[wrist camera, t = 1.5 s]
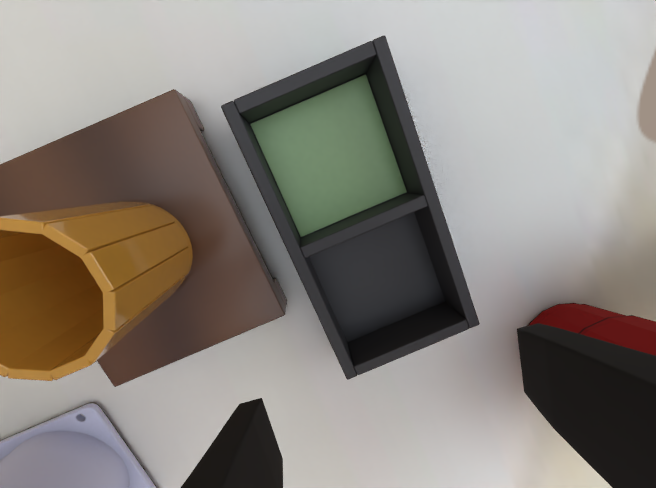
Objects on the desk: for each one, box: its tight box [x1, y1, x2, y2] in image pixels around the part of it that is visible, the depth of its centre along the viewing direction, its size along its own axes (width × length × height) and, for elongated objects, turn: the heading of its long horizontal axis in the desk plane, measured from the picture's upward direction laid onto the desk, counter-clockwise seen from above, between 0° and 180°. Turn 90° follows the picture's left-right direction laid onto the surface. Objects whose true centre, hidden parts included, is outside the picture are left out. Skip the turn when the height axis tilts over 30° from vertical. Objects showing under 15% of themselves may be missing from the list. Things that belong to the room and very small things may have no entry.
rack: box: [221, 36, 479, 379], centre depth 16 cm, size 8×15×3 cm, turn 23°
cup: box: [0, 201, 193, 381], centre depth 12 cm, size 5×5×6 cm
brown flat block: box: [0, 90, 287, 387], centre depth 16 cm, size 10×12×2 cm
